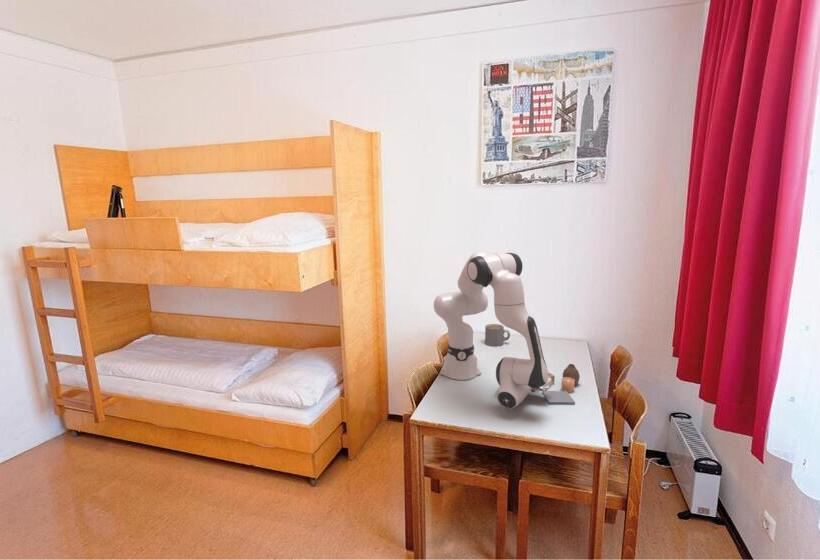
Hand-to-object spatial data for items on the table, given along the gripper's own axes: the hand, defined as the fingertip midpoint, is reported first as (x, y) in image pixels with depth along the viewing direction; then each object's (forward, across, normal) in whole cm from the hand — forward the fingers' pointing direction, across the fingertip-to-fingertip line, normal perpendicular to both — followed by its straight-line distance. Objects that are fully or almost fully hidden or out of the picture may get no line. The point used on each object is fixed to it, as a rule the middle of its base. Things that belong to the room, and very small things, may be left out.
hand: (531, 372), depth 181 cm
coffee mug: (+47, +33, +7) cm, 58 cm away
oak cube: (+9, -5, +7) cm, 12 cm away
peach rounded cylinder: (+6, -14, +7) cm, 17 cm away
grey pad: (-4, -12, +7) cm, 15 cm away
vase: (+13, -14, +7) cm, 20 cm away
